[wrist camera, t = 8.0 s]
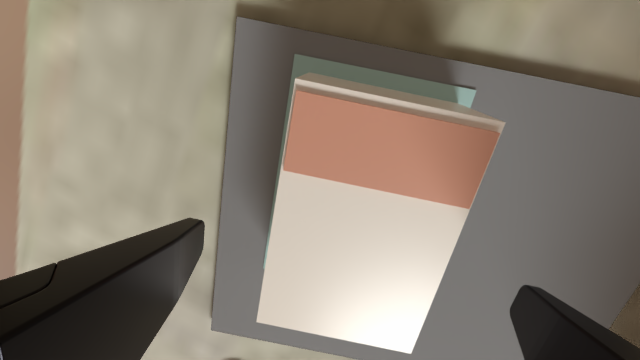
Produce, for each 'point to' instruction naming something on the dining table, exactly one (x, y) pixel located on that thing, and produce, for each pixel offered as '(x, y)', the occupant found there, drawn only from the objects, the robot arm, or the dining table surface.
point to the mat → (487, 208)
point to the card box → (369, 209)
